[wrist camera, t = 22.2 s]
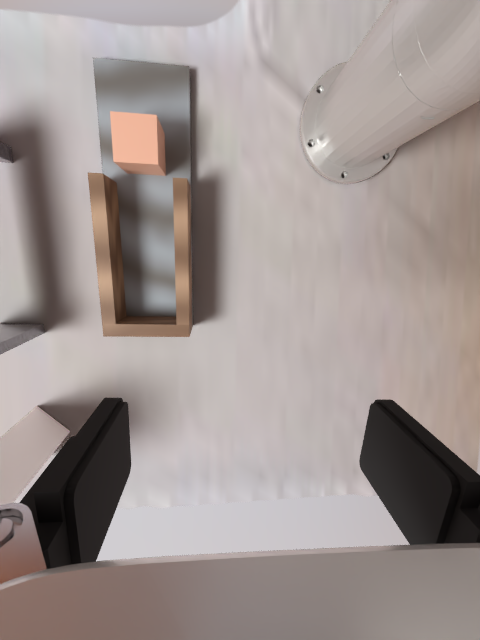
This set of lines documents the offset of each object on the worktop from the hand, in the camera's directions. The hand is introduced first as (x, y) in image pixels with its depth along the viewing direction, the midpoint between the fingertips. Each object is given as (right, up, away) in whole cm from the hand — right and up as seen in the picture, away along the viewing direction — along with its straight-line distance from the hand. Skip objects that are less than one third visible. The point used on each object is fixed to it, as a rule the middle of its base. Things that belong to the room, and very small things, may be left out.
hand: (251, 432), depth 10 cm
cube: (-11, +23, +21) cm, 33 cm away
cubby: (-11, +18, +23) cm, 32 cm away
